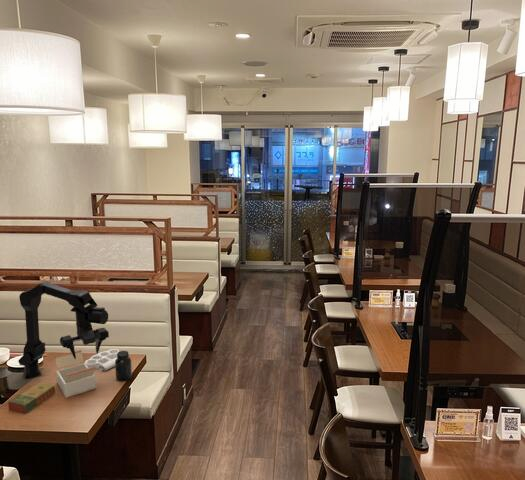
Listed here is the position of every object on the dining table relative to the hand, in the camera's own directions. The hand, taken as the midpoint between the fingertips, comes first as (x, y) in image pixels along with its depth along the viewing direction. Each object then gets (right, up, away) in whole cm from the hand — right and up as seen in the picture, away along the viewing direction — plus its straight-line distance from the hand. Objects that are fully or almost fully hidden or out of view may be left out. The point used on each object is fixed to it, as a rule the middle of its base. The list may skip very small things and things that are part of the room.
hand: (86, 355), depth 201 cm
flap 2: (+1, -5, -8) cm, 10 cm away
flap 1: (-9, -2, +4) cm, 10 cm away
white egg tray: (+1, -9, +21) cm, 23 cm away
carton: (-17, -16, -12) cm, 26 cm away
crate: (-4, -13, 0) cm, 13 cm away
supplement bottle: (+14, -12, +7) cm, 20 cm away
